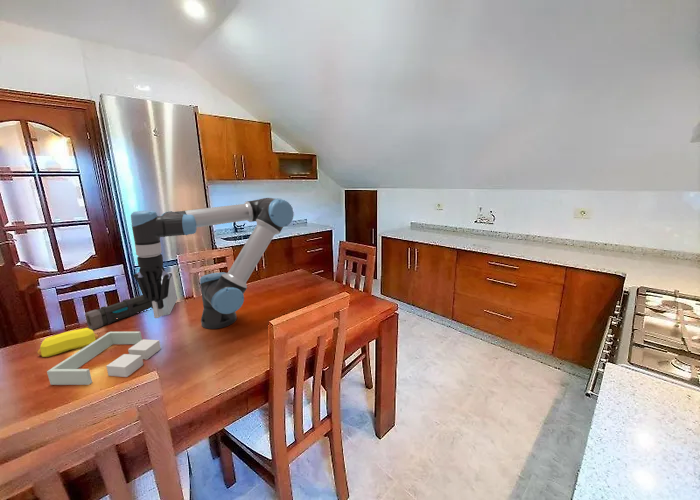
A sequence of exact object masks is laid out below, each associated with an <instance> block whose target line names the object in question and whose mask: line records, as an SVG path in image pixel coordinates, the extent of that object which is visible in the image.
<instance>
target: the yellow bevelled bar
mask: <svg viewBox="0 0 700 500" xmlns="http://www.w3.org/2000/svg"><path fill="white" fill-rule="evenodd" d="M99 338H100V337H99V335H98V334H97V333H95V332H94V330H91V329H89V327H84V328H83V327H82V328H80V329H79V328H78V329H72V330H69V331H64V332H61V333H58V334H54V335H52V336H49V337H48V336H47V337H46V338H44V339H43V340H42V342H41V344H40V347H39V349H38V350H37V352H36V353H37V355H39V356H41V357H42V358H45V357H46V358H49V357H52V356H55V355H58V354H63V353H64V352H65V353H66V352H68V351H70V350H75V349H82V348H84V347H86V346H88V345H89V344H91V343H92V342H94V341H95V340H97V339H99Z"/></svg>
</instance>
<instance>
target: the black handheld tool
mask: <svg viewBox="0 0 700 500" xmlns="http://www.w3.org/2000/svg"><path fill="white" fill-rule="evenodd" d="M149 309H152V308H151V303H150V301H149V300H148V299H144V297H143V295H142V294H140V295H138V296H135V297H132V298H125V299H122V301H120V302H116V303H113V304H110V305H108V306H105V305H103V306H100V307H99V308H98V309H93V310H89V311H87V312H85V313H84V314H85V321H86V324H87V328H89V329H91V330H93V331H94V330H97V329H99V328H102V327H104V326H105V325H107V326H108V325H111V324H112V323H114V322H117V321H119V320H122V319H124V318H127V317H129V318H130V317H132V316H134V315H136V314H138V313H140V312H144V311H146V310H149ZM116 318H118V319H116Z"/></svg>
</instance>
